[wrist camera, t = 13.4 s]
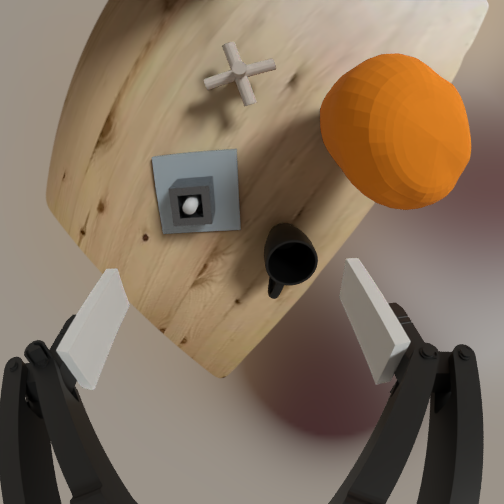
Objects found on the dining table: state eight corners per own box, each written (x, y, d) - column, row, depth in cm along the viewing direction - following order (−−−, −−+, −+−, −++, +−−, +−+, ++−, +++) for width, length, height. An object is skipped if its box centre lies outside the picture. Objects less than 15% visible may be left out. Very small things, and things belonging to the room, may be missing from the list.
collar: (177, 178, 43) (168, 188, 38) (212, 176, 43) (208, 185, 38) (181, 212, 46) (173, 226, 41) (215, 210, 46) (212, 224, 41)
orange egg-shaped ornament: (400, 104, 38) (506, 119, 16) (365, 183, 46) (450, 250, 24) (316, 56, 35) (391, 11, 13) (278, 144, 42) (319, 183, 20)
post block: (153, 156, 42) (137, 166, 35) (236, 148, 42) (235, 156, 35) (164, 231, 49) (152, 252, 42) (240, 227, 49) (240, 248, 42)
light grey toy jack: (219, 115, 40) (213, 115, 31) (199, 61, 35) (188, 48, 26) (280, 96, 38) (290, 92, 30) (260, 42, 34) (265, 24, 25)
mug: (246, 264, 53) (248, 295, 45) (272, 209, 48) (279, 232, 39) (285, 277, 55) (292, 308, 46) (313, 225, 49) (327, 250, 41)
